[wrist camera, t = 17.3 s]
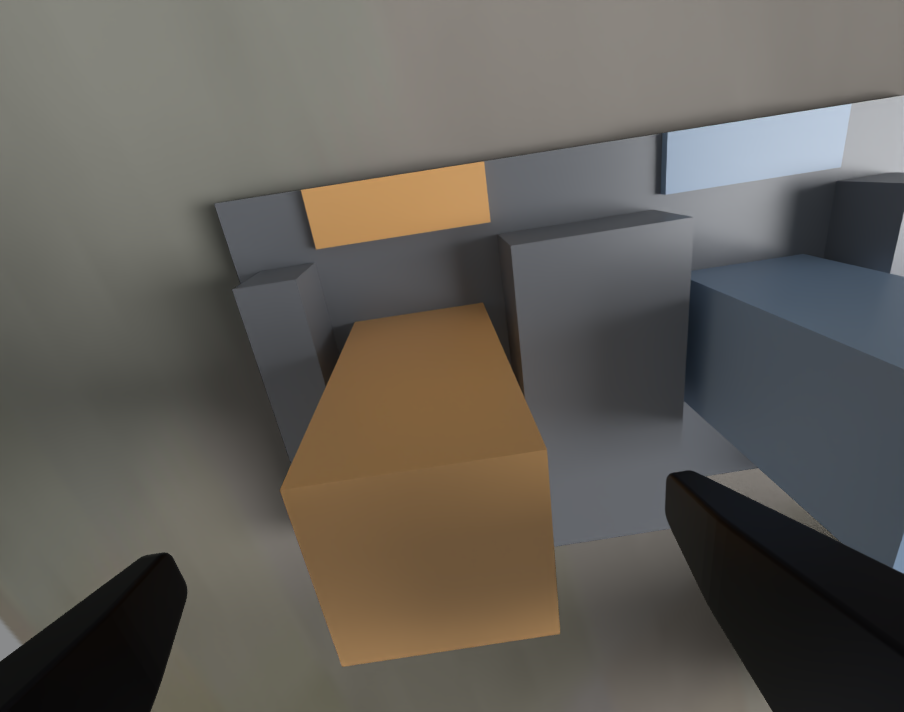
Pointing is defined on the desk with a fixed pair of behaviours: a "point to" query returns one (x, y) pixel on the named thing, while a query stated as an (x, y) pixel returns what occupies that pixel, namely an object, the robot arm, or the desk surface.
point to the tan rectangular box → (425, 493)
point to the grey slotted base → (572, 278)
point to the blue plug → (809, 386)
